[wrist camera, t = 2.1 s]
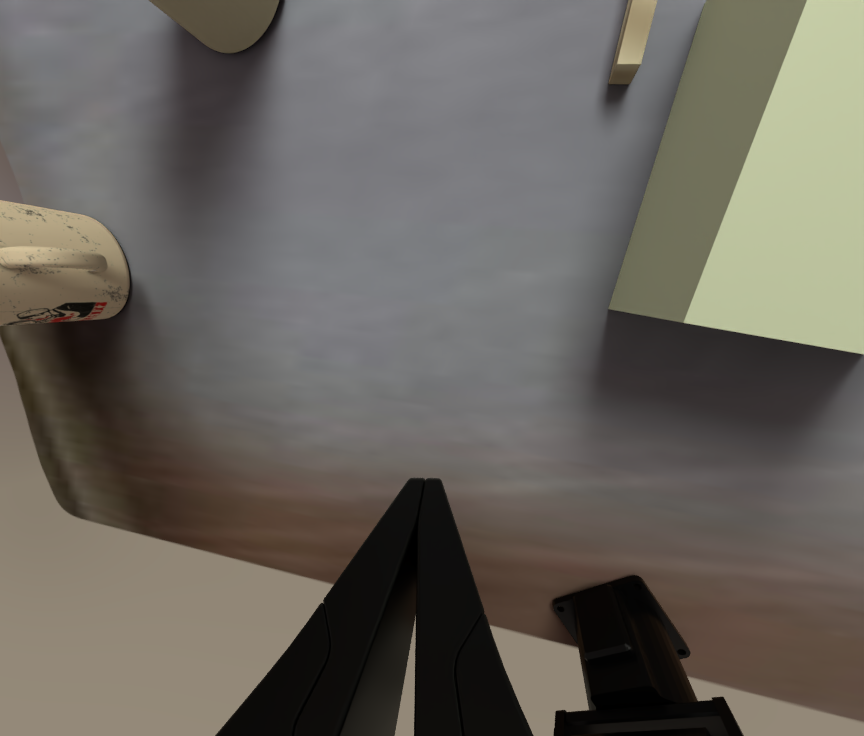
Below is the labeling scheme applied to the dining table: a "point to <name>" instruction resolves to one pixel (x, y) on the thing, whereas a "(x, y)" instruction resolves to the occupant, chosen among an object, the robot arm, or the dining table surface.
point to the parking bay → (632, 40)
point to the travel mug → (222, 20)
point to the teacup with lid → (58, 267)
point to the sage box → (760, 179)
